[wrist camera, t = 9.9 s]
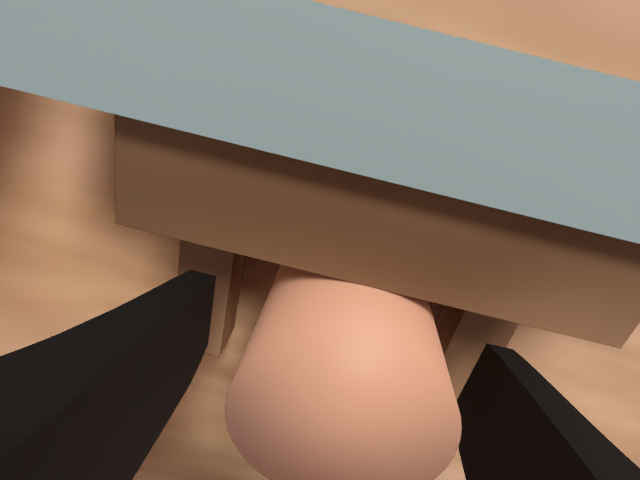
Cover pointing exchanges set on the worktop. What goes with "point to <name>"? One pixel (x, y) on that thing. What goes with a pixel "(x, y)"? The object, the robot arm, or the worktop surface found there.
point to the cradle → (372, 242)
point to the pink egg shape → (343, 385)
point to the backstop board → (347, 97)
